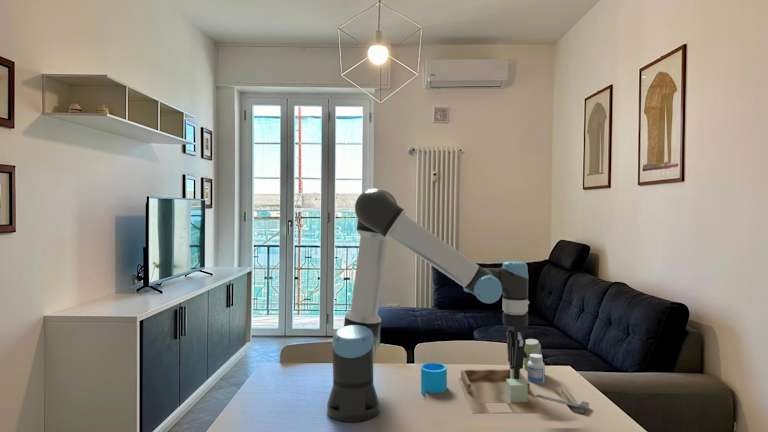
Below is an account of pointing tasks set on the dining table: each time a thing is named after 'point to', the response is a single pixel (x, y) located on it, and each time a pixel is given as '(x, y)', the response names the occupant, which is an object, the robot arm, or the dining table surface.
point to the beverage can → (531, 350)
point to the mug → (433, 378)
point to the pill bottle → (536, 369)
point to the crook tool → (570, 404)
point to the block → (516, 390)
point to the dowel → (569, 396)
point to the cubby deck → (494, 391)
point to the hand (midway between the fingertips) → (515, 388)
